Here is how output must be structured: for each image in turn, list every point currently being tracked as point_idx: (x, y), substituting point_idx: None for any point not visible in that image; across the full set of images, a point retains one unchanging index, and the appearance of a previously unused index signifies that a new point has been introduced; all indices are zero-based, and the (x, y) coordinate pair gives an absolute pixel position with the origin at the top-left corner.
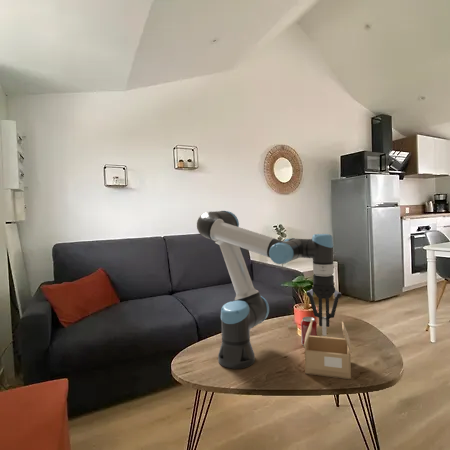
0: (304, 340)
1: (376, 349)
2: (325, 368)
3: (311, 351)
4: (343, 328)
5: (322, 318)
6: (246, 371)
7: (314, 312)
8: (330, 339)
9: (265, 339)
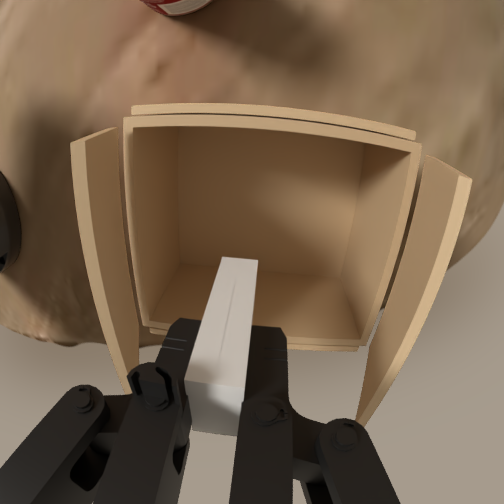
0: (147, 5)
1: (486, 30)
2: None
3: None
4: (401, 362)
5: (195, 420)
6: (27, 272)
7: (89, 466)
8: (298, 132)
9: (18, 26)
